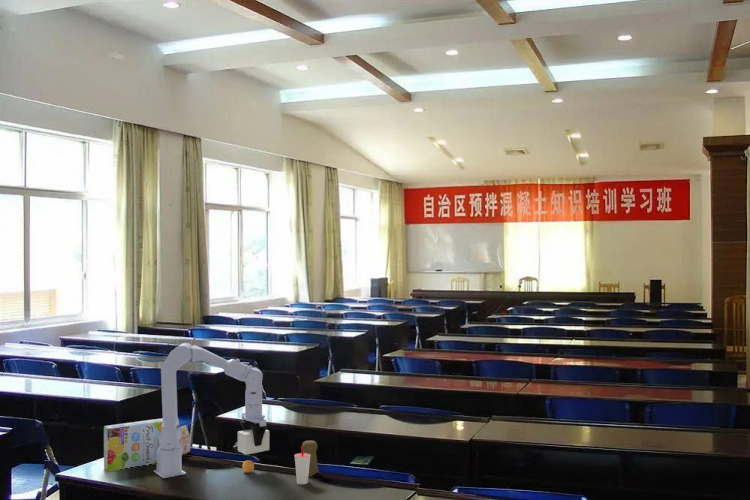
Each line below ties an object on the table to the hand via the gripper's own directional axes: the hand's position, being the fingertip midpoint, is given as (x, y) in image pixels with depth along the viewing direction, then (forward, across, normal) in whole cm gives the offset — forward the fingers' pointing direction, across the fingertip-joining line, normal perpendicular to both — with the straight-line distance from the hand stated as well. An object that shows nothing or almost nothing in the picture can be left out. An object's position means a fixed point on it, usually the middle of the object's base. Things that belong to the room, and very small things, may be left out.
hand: (253, 443), depth 236 cm
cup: (+10, -21, -7) cm, 24 cm away
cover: (+2, 0, 0) cm, 2 cm away
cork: (+10, -14, -14) cm, 22 cm away
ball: (+7, 0, +2) cm, 8 cm away
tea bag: (+10, +36, +12) cm, 39 cm away
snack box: (+10, +31, +30) cm, 44 cm away
